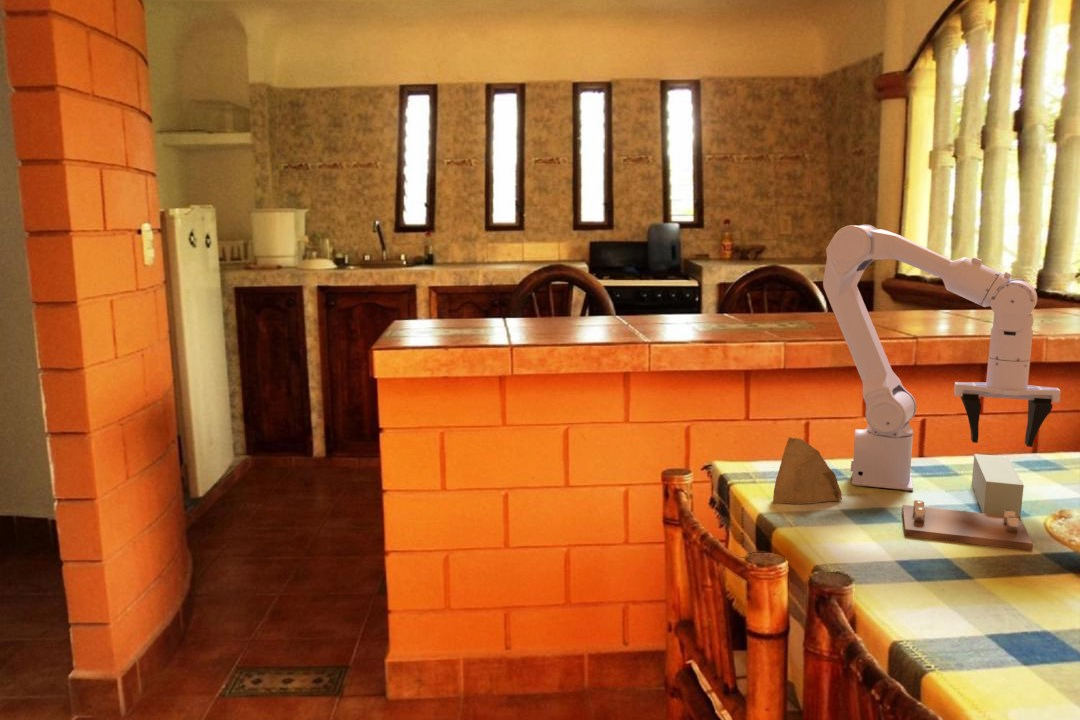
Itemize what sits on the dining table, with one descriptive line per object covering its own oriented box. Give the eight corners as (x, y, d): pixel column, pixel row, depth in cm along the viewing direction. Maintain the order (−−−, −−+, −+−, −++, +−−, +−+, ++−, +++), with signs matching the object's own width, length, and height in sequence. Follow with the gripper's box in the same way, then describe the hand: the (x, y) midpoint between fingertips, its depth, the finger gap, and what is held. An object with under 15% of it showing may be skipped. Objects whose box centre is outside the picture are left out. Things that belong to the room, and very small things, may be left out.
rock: (850, 480, 142) (790, 463, 147) (852, 448, 136) (789, 432, 141) (831, 533, 136) (768, 514, 141) (832, 503, 130) (767, 484, 135)
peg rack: (905, 535, 124) (906, 515, 123) (902, 511, 134) (903, 492, 133) (1032, 550, 118) (1034, 529, 118) (1019, 523, 128) (1021, 504, 128)
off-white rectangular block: (1020, 520, 131) (1023, 485, 130) (983, 516, 132) (986, 481, 131) (1004, 488, 145) (1007, 456, 144) (971, 485, 147) (974, 453, 146)
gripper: (960, 359, 134) (953, 445, 136) (1068, 365, 129) (1059, 453, 131) (955, 352, 140) (948, 434, 142) (1057, 357, 135) (1049, 442, 138)
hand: (1001, 443), depth 137 cm, fingers open, 7 cm apart
